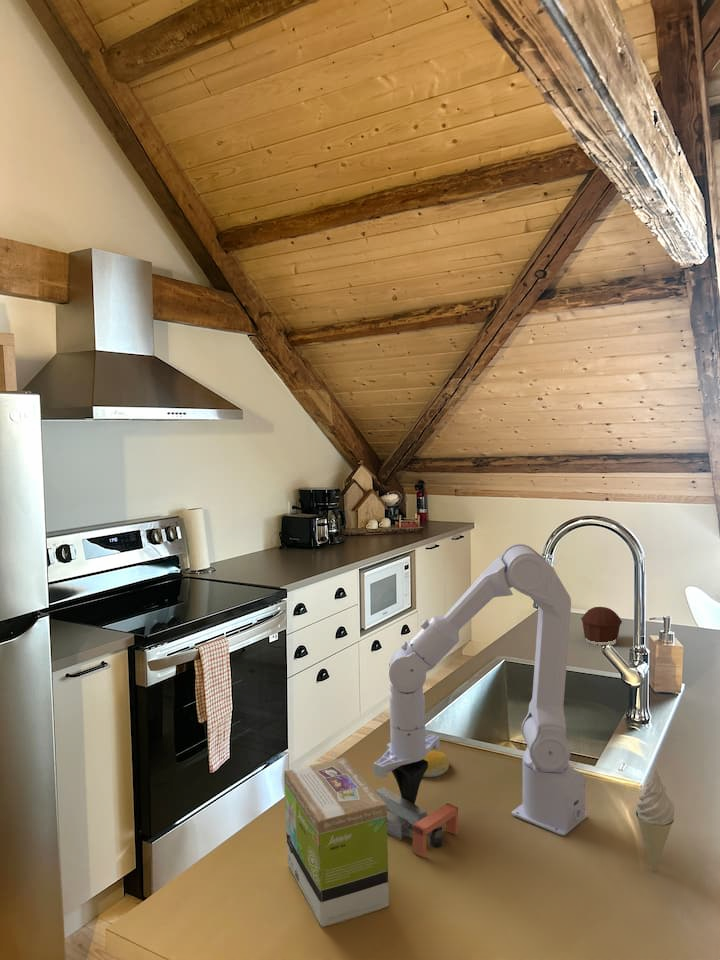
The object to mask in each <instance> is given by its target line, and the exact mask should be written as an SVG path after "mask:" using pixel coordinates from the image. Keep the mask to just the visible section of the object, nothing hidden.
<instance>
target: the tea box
mask: <svg viewBox="0 0 720 960" xmlns="http://www.w3.org/2000/svg"><path fill="white" fill-rule="evenodd" d="M283 775H284V776H283V777H284V783H283V784H284V786H283V787H284V801H285V803H284V806H285V810H284V811H285V832H286V833H285V834H286V857H287V859H286V860H287V865H288V866H289V869H290V871H291V873H292V875H293V876H294V878H295V880H296V882H297V884H298V886H299V888H300V890H301V891H302V893H303V895H304V897H305V899H306V901H307V903H308V905H309V906H310V908H311V911H312V912H313V914H314V916H315V918H316V920H317V921H318V923H319V925H320V927H321V928H325V927H327V926H332V925H334V924H338V923H341V922H345V921H347V920H348V921H349V920H350V919H351V920H352V919H354V918H358V917H361V916H363V915H367V914H370V913H374V912H376V911H379V910H383V909H384V908H388V907H389V905H390V904H389V897H390V896H389V894H390V893H389V892H390V888H389V886H390V885H389V857H388V855H389V851H388V833H387V811H388V810H387V806H386V804H385V802H384V801H383V800H382V799H381V798H380V797H379V796H378V795H377V793H376V792H375V790H374V789H373V787H371V786H370V784H369V783H368V782H367V781H366V780H365V779H364V778H363V776H362V775H361V774H360V773H359V772H358V771H357V770H356V769H355V767H354V766H353V765H352V764H351V763H350V762H349V761H348V759H347V758H346V757H342V758H337V759H331V760H328V761H325V762H324V761H323V762H320V763H315V764H311V765H306V766H302V767H298V768H294V769H289V770H284V773H283Z"/></svg>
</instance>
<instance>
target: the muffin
mask: <svg viewBox="0 0 720 960" xmlns="http://www.w3.org/2000/svg"><path fill="white" fill-rule="evenodd" d="M580 620H581V622H582V627H583V635H584V639H585V638H587V639H588V640H590V641H595V642H608V641H613V640H615V639H617V637H618V638H619V633H620V627H621V624H622V623H623V620H622V619H621V617H620V616H619V615H618V613H617V612H615V610H612V609H611V608H609V607H605V606H594V607H592V608H590V609H588V610H587V611H586V612H585V613H584V615H582V617H581V618H580ZM617 640H618V639H617Z"/></svg>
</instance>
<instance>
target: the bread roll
mask: <svg viewBox="0 0 720 960" xmlns="http://www.w3.org/2000/svg"><path fill="white" fill-rule="evenodd" d="M423 760H426V761H427V762H428V768H427V770H426V772H425V773H424V775H423V778H436V777H440V776H442V775H444V774H445V773H446V772H447V771H448V770H449V766H450V759H449V758H448V756H447V755H446V754H445V753H444V752H443V751H442V750H441V748H439V749H437V750H435V749H432V750H430V752H429V753H428V754H427V756H426V757H425V758H424V759H423Z"/></svg>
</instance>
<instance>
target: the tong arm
mask: <svg viewBox="0 0 720 960" xmlns="http://www.w3.org/2000/svg"><path fill="white" fill-rule="evenodd" d="M374 791H375V792H376V793H377V795H378V796H379V797H380V798H381V799H382V800H383V801H384V802H385V804H386V806H387V811H389V812H391V813H393V814H395V815H398V816H400V817H402V818H404V819H406V820H408V821H409V824H410V825H411V826H413V825H414V824H415V823H417V822H418V821H420V820H421V819H423V818H425V817H426V816H428V811H427V810H425V809H424V808H422V807H420V806H418V805H417V804H416V803H415V804H413V803H411V802H409V801H408V800H406V799H404V798H402V797H401V795H399V794H397V793H395V792H394V791H391V790H389V789H388V788H386V787H385V786H382V787H380V788H377V789H375V790H374Z"/></svg>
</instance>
